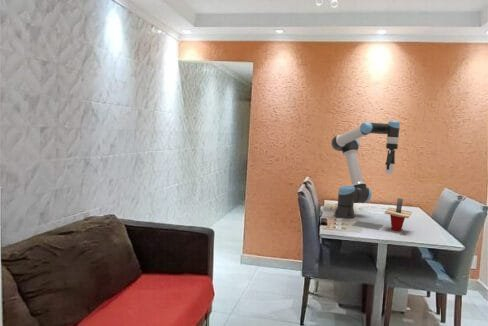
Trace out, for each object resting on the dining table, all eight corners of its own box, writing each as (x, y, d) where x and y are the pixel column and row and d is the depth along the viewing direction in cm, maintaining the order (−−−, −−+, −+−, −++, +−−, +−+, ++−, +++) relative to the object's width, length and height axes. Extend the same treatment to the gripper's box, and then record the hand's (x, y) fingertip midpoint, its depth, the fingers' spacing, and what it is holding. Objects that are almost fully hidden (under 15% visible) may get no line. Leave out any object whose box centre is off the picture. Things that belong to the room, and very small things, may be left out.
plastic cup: (393, 233, 277) (395, 215, 275) (384, 228, 287) (386, 211, 286) (408, 233, 279) (410, 215, 278) (399, 228, 289) (400, 211, 288)
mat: (357, 221, 304) (357, 220, 304) (383, 225, 296) (383, 225, 296) (351, 226, 288) (351, 225, 288) (378, 230, 280) (378, 230, 280)
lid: (388, 208, 292) (390, 194, 290) (411, 213, 285) (413, 198, 283) (384, 213, 279) (386, 198, 277) (408, 218, 272) (410, 203, 270)
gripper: (389, 142, 305) (387, 171, 307) (383, 143, 284) (380, 174, 286) (400, 143, 302) (397, 172, 304) (394, 143, 280) (391, 175, 282)
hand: (389, 173), depth 295 cm, fingers open, 13 cm apart
